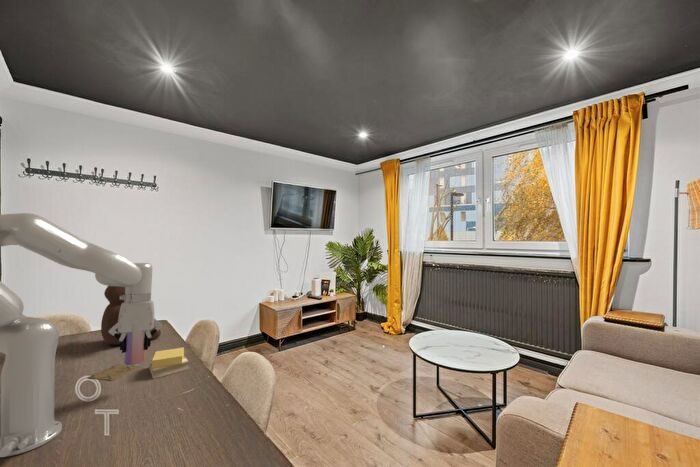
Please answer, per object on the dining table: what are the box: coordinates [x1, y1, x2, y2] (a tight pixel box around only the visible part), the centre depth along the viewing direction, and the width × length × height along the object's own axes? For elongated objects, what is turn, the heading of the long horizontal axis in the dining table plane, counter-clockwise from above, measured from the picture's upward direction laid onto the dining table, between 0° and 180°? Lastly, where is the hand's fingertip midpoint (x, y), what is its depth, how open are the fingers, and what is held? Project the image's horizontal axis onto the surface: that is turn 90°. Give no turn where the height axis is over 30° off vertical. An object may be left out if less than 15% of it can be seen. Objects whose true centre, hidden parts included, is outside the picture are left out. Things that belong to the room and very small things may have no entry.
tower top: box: [151, 347, 185, 368], centre depth 119 cm, size 10×10×3 cm
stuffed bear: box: [100, 286, 162, 346], centre depth 152 cm, size 29×23×35 cm
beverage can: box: [123, 321, 147, 366], centre depth 103 cm, size 6×6×15 cm
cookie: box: [87, 363, 141, 382], centre depth 116 cm, size 12×12×1 cm
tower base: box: [148, 355, 190, 380], centre depth 119 cm, size 12×12×3 cm
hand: (135, 349), depth 103 cm, fingers closed on beverage can, 5 cm apart
